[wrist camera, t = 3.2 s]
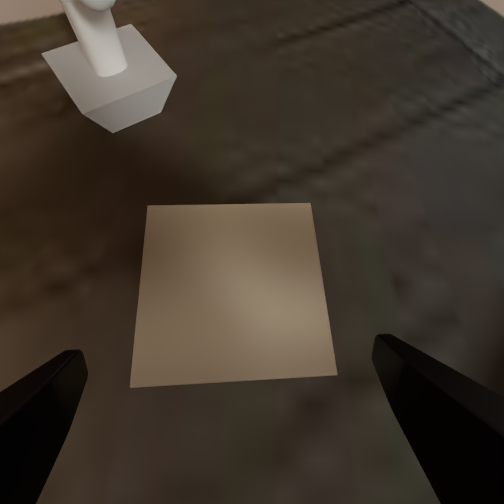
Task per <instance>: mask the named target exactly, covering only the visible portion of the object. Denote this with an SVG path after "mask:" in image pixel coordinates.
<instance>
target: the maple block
mask: <svg viewBox="0 0 504 504" xmlns="http://www.w3.org/2000/svg"><path fill="white" fill-rule="evenodd" d="M330 375H337V369H336V363H335V356H334V350H333V344H332V337H331V331H330V325H329V318H328V312H327V306H326V299H325V293H324V286H323V280H322V274H321V267H320V261H319V255H318V248H317V242H316V236H315V229H314V223H313V217H312V210H311V204H310V203H287V204H220V205H153V206H148V207H147V218H146V228H145V238H144V248H143V258H142V268H141V278H140V288H139V299H138V309H137V319H136V329H135V339H134V349H133V359H132V369H131V380H130V388H134V387H150V386H166V385H183V384H199V383H216V382H232V381H248V380H265V379H281V378H298V377H314V376H330Z"/></svg>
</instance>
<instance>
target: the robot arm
mask: <svg viewBox="0 0 504 504" xmlns="http://www.w3.org/2000/svg"><path fill="white" fill-rule="evenodd" d="M372 361H373V364H374V367H375V369H376V372H377V374H378V377H379V379H380V382H381V384H382V387H383V389H384V392H385V394H386V397H387V399H388V402H389V404H390V406H391V409H392V411H393V413H394V415H395V417H396V419H397V421H398V422H399V424H400V426H401V428H402V430H403V432H404V434H405V436H406V438H407V440H408V442H409V444H410V446H411V447H412V449H413V451H414V453H415V455H416V457H417V459H418V461H419V463H420V465H421V467H422V469H423V470H424V472H425V474H426V476H427V478H428V480H429V482H430V484H431V486H432V488H433V490H434V492H435V494H436V495H437V497H438V499H439V501H440V503H441V504H504V397H502V396H500V395H499V394H497V393H495V392H493V391H491V390H490V389H488V388H486V387H484V386H483V385H481V384H479V383H477V382H475V381H474V380H472V379H470V378H468V377H466V376H465V375H463V374H461V373H459V372H457V371H456V370H454V369H452V368H450V367H449V366H447V365H445V364H443V363H441V362H440V361H438V360H436V359H434V358H432V357H431V356H429V355H427V354H425V353H423V352H422V351H420V350H418V349H416V348H414V347H413V346H411V345H409V344H407V343H406V342H404V341H402V340H400V339H398V338H397V337H395V336H393V335H391V334H378V335H377V336H376V337H375V341H374V347H373V352H372ZM87 377H88V371H87V367H86V363H85V359H84V355H83V352H82V351H81V350H66V351H64V352H62V353H60V354H59V355H57V356H56V357H54V358H53V359H51V360H50V361H48V362H46V363H45V364H43V365H42V366H40V367H39V368H37V369H36V370H34V371H32V372H31V373H29V374H28V375H26V376H25V377H23V378H22V379H20V380H18V381H17V382H15V383H14V384H12V385H11V386H9V387H8V388H6V389H4V390H3V391H1V392H0V504H36V502H37V500H38V498H39V496H40V494H41V491H42V489H43V487H44V485H45V483H46V481H47V478H48V476H49V474H50V472H51V470H52V468H53V465H54V463H55V461H56V459H57V457H58V454H59V452H60V450H61V448H62V446H63V444H64V441H65V439H66V437H67V434H68V432H69V430H70V427H71V424H72V421H73V419H74V416H75V413H76V410H77V407H78V404H79V401H80V398H81V395H82V392H83V389H84V387H85V384H86V381H87Z"/></svg>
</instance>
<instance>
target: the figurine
mask: <svg viewBox="0 0 504 504" xmlns="http://www.w3.org/2000/svg"><path fill="white" fill-rule="evenodd" d="M60 2H61V4H62V6H63V9H64V11H65V13H66V15H67V17H68V20H69V22H70V24H71V26H72V28H73V31H74V33H75V35H76V37H77V39H78V42H74V43H71V44H68V45H65V46H62V47H59V48H56V49H53V50H50V51H47V52H44V53H41V54H42V55H43V57H44V58H45V60H46V61H47V63H48V64H49V66H50V67H51V69H52V70H53V72H54V73H55V75H56V76H57V78H58V79H59V81H60V82H61V84H62V85H63V86H64V88H65V89H66V91H67V92H68V94H69V95H70V97H71V98H72V100H73V101H74V103H75V104H76V106H77V107H78V109H79V110H80V112H81V113H82V114H83V115H85V116H86V117H88V118H89V119H91V120H93V121H94V122H96V123H97V124H99V125H101V126H102V127H104V128H105V129H107V130H109V131H110V132H112V133H115V132H117V131H119V130H122V129H124V128H126V127H129V126H131V125H133V124H135V123H138V122H140V121H142V120H145V119H147V118H149V117H152V116H154V115H156V114H159V113H161V111H162V108H163V106H164V104H165V102H166V99H167V97H168V95H169V93H170V90H171V88H172V86H173V84H174V81H175V79H176V77H177V75H176V74H175V73H174V72H173V71H172V70H171V69H170V67H169V66H168V65H167V64H166V63H165V62H164V61H163V59H162V58H161V57H160V56H159V55H158V54H157V53H156V52H155V50H154V49H153V48H152V47H151V46H150V45H149V44H148V42H147V41H146V40H145V39H144V38H143V37H142V36H141V35H140V33H139V32H138V31H137V30H136V29H135V28H134V27H133V25H132V24H129V25H126V26H123V27H120V28H117V29H116V26H115V23H114V20H113V17H112V14H111V11H110V8H111V7H112V6H113V4H114V3H115V0H60Z"/></svg>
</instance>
